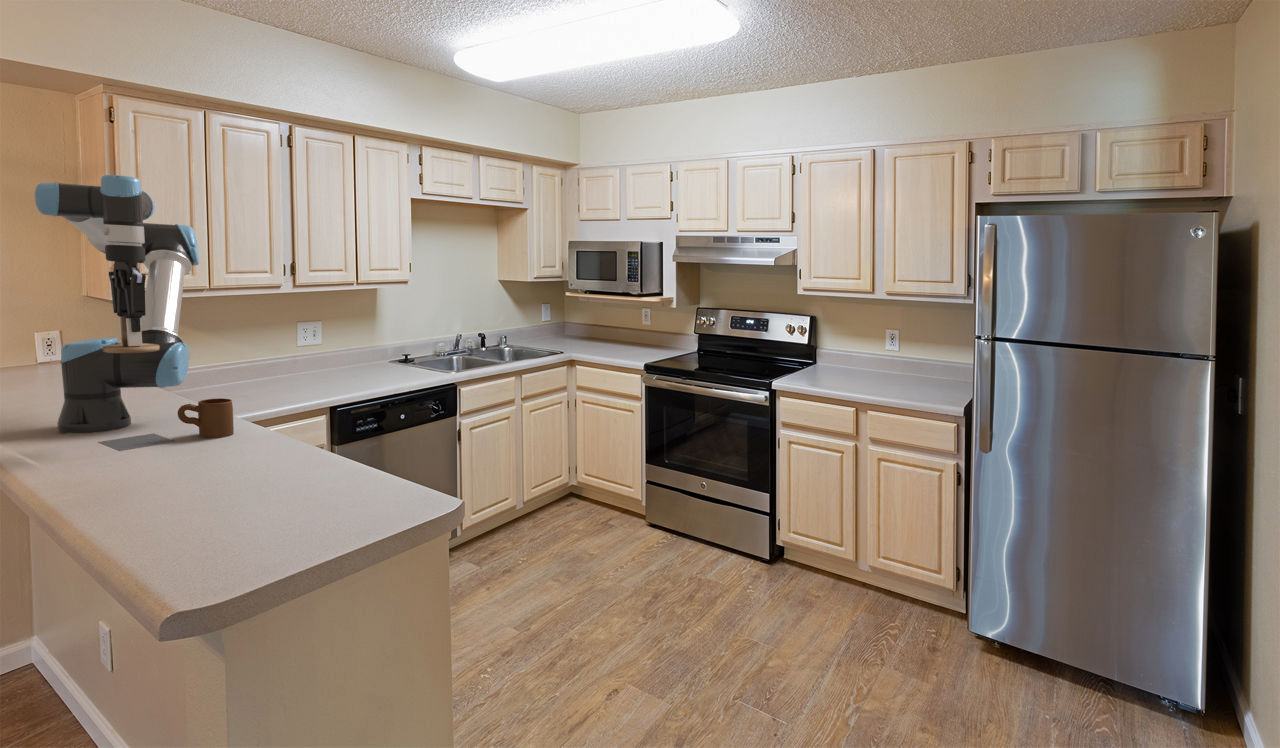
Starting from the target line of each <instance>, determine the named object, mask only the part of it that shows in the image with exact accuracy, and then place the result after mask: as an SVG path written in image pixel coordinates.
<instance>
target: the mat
mask: <svg viewBox="0 0 1280 748" xmlns="http://www.w3.org/2000/svg"><path fill="white" fill-rule="evenodd" d="M97 443H98V444H101V445H104V446H106V447H109V448H110V449H111V448H112V449H113V450H116V451H119V452H122V451H128V450H129V451H130V450H135V449H141V448H146V447H152V446H153V447H154V446H158V445H165V444H170V443H177V441H176V440H173V439H171V438H168V437H167V436H162V435H159V434H157V433H149V434H148V433H147V434H142V435H141V434H140V435H134V436H127V437H121V438H114V439H108V440H102V441H97Z"/></svg>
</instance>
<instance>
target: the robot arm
mask: <svg viewBox="0 0 1280 748" xmlns="http://www.w3.org/2000/svg"><path fill="white" fill-rule="evenodd" d="M34 190H35V191H34V201H35V205H36V208H37V210H38V212H39V213H40V214H41V215H44V216H50V217H51V216H53V217H63V218H64V219H65V220H66V221H68V222H69V223H70V224H71V225H72V226H74V227H75V228H76V229H77V230H78V231H79V232H81V233H82V234H84V235H85V236H86V237H87V240H88V241H89V243H90V245H91V246H93V248H95V249H96V250H98V251H99V252H101V253H103V254H105V260H106V261H107V262H114V264H113V265H114V266H113V271H108V276H109V281H110V290H111V301H112V310H113V313H114V314H116V315H117V317H118V325H119V327H118V329H119V340H120V342H119V340H118V338H117V337H98V338H90V339H83V340H76V341H72V342H71V341H70V342H68V343H65V344H64V345H63V346H62V347H61V348H60V354H61V355H60V356H61V357H60V364H61V374H62V385H63V398H64V401H63V405H62V407H61V411H60V414H59V417H58V420H57V424H56V425H57V431H58V433H60V434H92V433H100V432H101V433H102V432H103V433H104V432H110V431H115V430H121V429H124V428H125V429H126V428H127V427H130V426H131V425H132V417H131V415H130V413H129V411H128V408H127V407H126V404H125V401H124V400H123V399H122V390H121V389H123V388H126V389H127V388H129V389H131V388H133V389H135V388H159V389H160V388H161V389H162V388H167V387H177V386H180V385H181V384H183V383H184V382H185V380H186V377H187V375H188V371H189V367H190V361H189V360H190V349H189V346H188V345H187V343H184V340H183V339H182V337H181V336H179V335H178V334H179V326H180V317H181V310H182V309H181V308H182V302H183V300H182V298H183V292H184V283H185V282H184V281H185V276H186V275H188V274H189V273H190V272H191V271H192V268H193V266H198V265H200V255H199V248H198V247H199V246H198V243H197V237H196V232H195V230H194V228H192V227H191V226H190V225H184V224H178V223H175V224H166V223H165V224H164V223H151V222H150V223H149V222H144V221H146V220H148V219H149V218H151V217H152V216H153V214H154V213H155V210H156V209H155V207H156V206H155V201H154V200H153V198H152V196H150V195H149V194H148V193H147V192H145V191H144V190H143V189H142V185H141V181H140V179H139V178H138V177H133V176H128V175H119V174H118V175H116V174H104V175H103V176H101V178H100V185H99V186H98V185H89V184H88V185H86V184H75V183H74V184H72V183H63V182H62V183H61V182H40V183H38V184H37V185H36V186H35V189H34ZM139 264H144V266H145V268H146V269H148V273H147V276H146V273H141V272H140V267H139ZM146 277H147V280H146ZM121 316H124V317H125V318H126V325H127V340H128V346H142V343H145V344H157V345H160V350H158V351H154V352H145V353H107V352H103V348H102V347H103V346H106V345H113V344H121V345H123V336H122V322H121Z"/></svg>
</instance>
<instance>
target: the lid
mask: <svg viewBox="0 0 1280 748" xmlns="http://www.w3.org/2000/svg"><path fill="white" fill-rule="evenodd" d="M121 322H122V336H123V345H121V344H113V345H106V346H103V347H102V348H103V352H107V353H145V352H154V351H158V350H160V345H157V344H145V343H142V346H128V340H127V325H126V318H125V317H124V316H121Z"/></svg>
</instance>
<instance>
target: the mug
mask: <svg viewBox="0 0 1280 748" xmlns="http://www.w3.org/2000/svg"><path fill="white" fill-rule="evenodd" d="M233 407H234V406H233V401H232V399H231V398H230V399H229V398H207V399H202V400H198V404H197V405H196V404H192V403H188V404H187V403H186V404H183V405H181V406H180V407H179V408H178V410H177V417H178V419H179V420H180V421H181V422H182V423H183V424H187V425H188V424H189V425H195V426H197V427H198V432H199V433H198V434H199V437H200V438H203V439H222V438H227V437H228V438H229V437H232V436H233V435H234V431H235V430H234V429H235V428H234V408H233ZM186 411H191V412H195V413H197V417H194V416H191V417H190V416H189V417H188V416H187V414H186V413H185V412H186Z"/></svg>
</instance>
